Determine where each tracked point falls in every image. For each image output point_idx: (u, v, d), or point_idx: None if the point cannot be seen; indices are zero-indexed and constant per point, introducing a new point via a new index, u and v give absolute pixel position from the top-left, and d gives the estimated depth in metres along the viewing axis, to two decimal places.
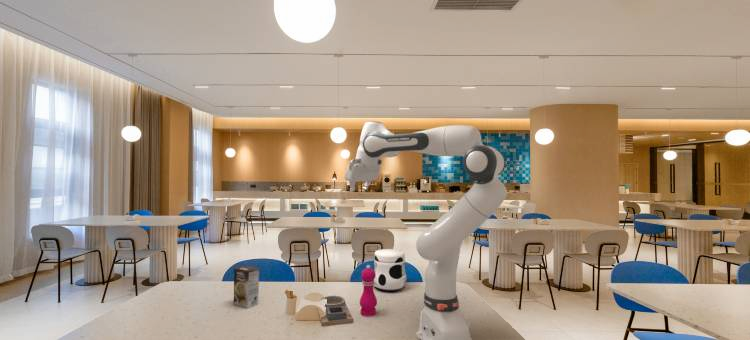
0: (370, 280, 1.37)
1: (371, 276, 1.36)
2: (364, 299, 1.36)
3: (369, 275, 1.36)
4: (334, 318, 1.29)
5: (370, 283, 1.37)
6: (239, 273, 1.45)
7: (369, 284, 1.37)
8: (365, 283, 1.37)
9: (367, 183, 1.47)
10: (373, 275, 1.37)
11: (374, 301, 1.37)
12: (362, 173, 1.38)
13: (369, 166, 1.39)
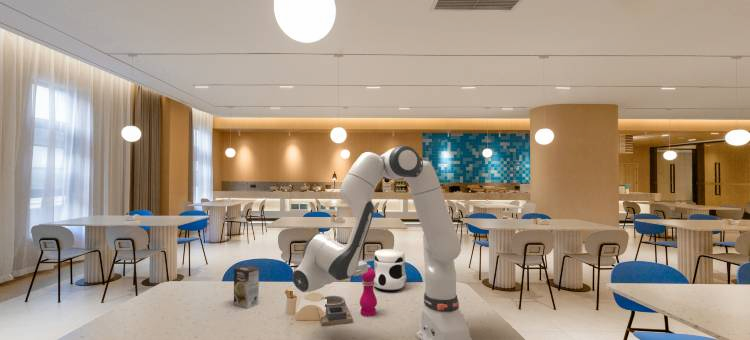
0: (370, 280, 1.37)
1: (371, 276, 1.36)
2: (364, 299, 1.36)
3: (369, 275, 1.36)
4: (334, 318, 1.29)
5: (370, 283, 1.37)
6: (239, 273, 1.45)
7: (369, 284, 1.37)
8: (365, 283, 1.37)
9: None
10: (373, 275, 1.37)
11: (374, 301, 1.37)
12: None
13: None
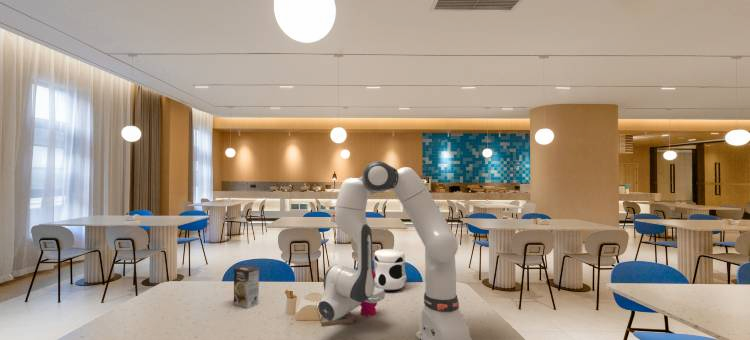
0: None
1: None
2: None
3: None
4: None
5: None
6: (239, 273, 1.45)
7: None
8: None
9: None
10: (373, 275, 1.37)
11: None
12: None
13: None
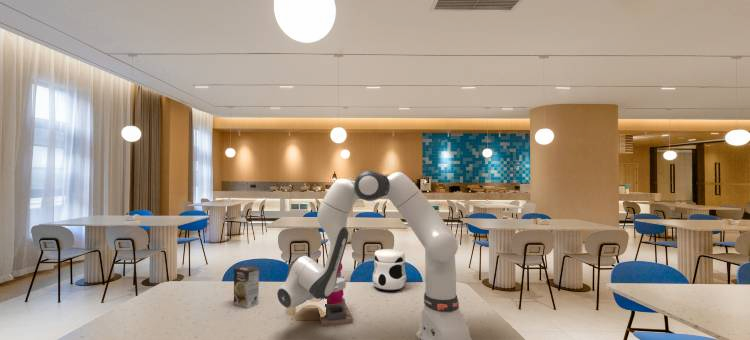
0: None
1: None
2: None
3: None
4: (334, 318, 1.29)
5: None
6: (239, 273, 1.45)
7: None
8: None
9: None
10: (339, 267, 1.40)
11: (340, 292, 1.40)
12: None
13: None
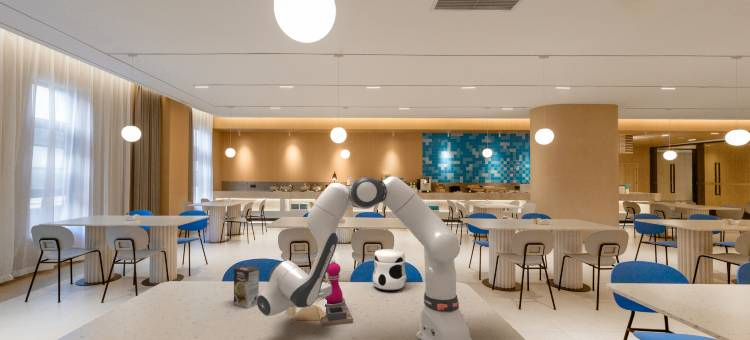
0: (335, 274, 1.39)
1: (336, 271, 1.39)
2: None
3: (334, 270, 1.39)
4: (334, 318, 1.29)
5: (335, 277, 1.39)
6: (239, 273, 1.45)
7: (334, 278, 1.39)
8: (330, 277, 1.39)
9: None
10: (338, 269, 1.40)
11: (340, 294, 1.40)
12: None
13: None
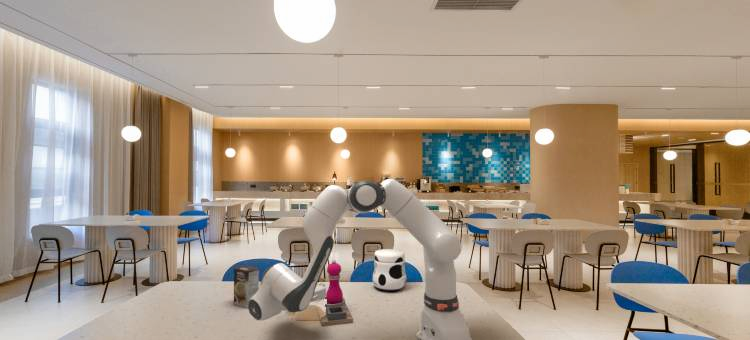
0: (336, 274, 1.39)
1: (336, 270, 1.39)
2: (330, 293, 1.39)
3: (335, 269, 1.39)
4: (334, 318, 1.29)
5: (336, 277, 1.40)
6: (239, 273, 1.45)
7: (335, 278, 1.39)
8: (331, 277, 1.40)
9: None
10: (338, 269, 1.40)
11: (340, 294, 1.40)
12: None
13: None
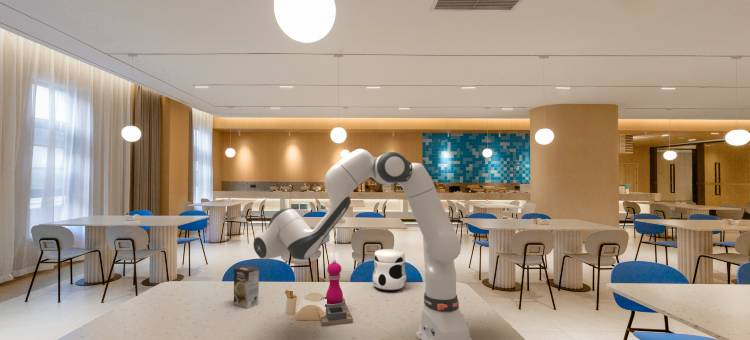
0: (336, 274, 1.40)
1: (336, 270, 1.39)
2: (330, 292, 1.39)
3: (335, 269, 1.39)
4: (334, 318, 1.29)
5: (336, 277, 1.40)
6: (239, 273, 1.45)
7: (335, 278, 1.39)
8: (331, 277, 1.40)
9: None
10: (339, 269, 1.40)
11: (340, 294, 1.40)
12: None
13: None
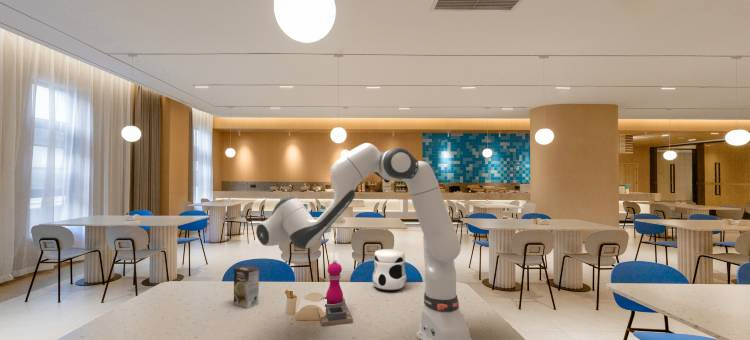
0: (336, 274, 1.40)
1: (337, 270, 1.39)
2: (330, 292, 1.39)
3: (335, 269, 1.39)
4: (334, 318, 1.29)
5: (336, 277, 1.40)
6: (239, 273, 1.45)
7: (335, 278, 1.39)
8: (331, 277, 1.40)
9: None
10: (339, 269, 1.40)
11: (340, 295, 1.40)
12: None
13: None
